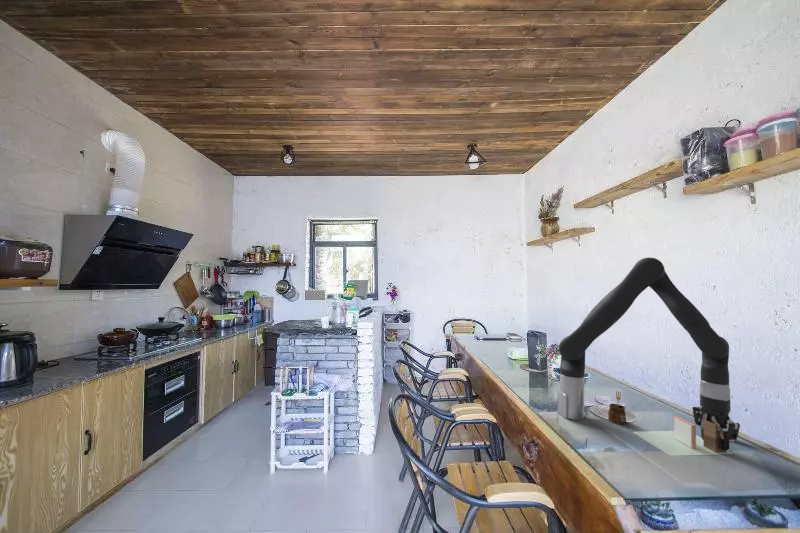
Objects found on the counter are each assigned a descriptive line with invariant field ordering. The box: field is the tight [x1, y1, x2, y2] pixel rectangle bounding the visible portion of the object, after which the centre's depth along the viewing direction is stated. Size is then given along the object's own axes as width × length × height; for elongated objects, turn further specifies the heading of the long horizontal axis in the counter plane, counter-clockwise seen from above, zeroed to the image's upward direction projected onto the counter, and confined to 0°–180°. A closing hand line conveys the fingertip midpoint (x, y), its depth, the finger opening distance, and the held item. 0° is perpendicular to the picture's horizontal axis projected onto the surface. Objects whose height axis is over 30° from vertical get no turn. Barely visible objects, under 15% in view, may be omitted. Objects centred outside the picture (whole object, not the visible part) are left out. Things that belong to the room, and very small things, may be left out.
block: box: [703, 420, 728, 453], centre depth 111 cm, size 4×4×9 cm
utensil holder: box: [607, 390, 627, 425], centre depth 132 cm, size 6×6×12 cm
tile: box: [673, 415, 697, 449], centre depth 115 cm, size 1×7×8 cm, turn 4°
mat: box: [632, 430, 733, 457], centre depth 116 cm, size 22×16×1 cm
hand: (714, 444), depth 111 cm, fingers open, 5 cm apart
